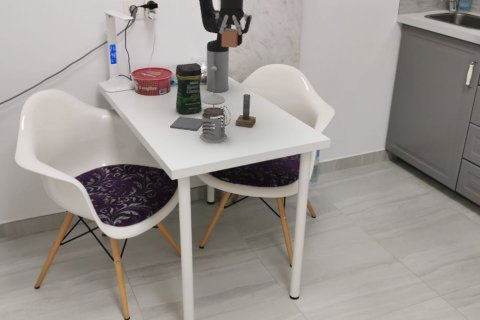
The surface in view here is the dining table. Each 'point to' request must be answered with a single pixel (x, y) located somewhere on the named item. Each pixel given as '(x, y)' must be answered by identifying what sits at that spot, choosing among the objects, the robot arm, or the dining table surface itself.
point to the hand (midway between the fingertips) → (230, 44)
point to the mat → (187, 123)
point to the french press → (219, 132)
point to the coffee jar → (188, 88)
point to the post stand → (246, 114)
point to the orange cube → (229, 38)
